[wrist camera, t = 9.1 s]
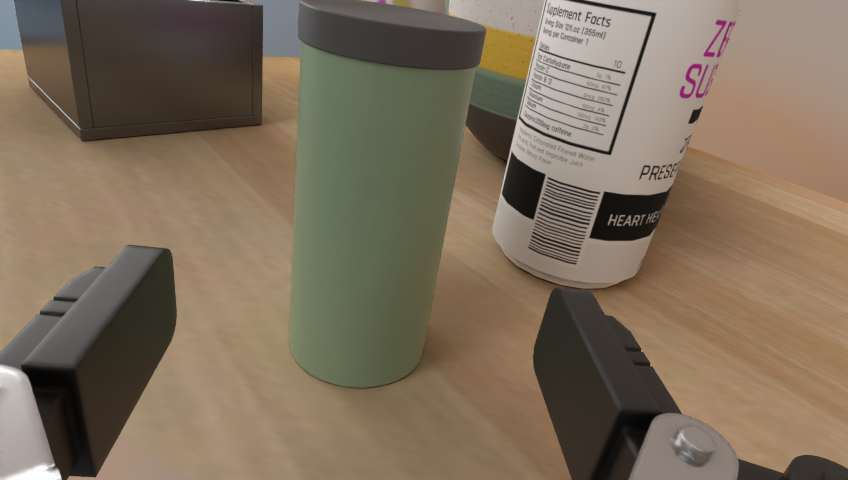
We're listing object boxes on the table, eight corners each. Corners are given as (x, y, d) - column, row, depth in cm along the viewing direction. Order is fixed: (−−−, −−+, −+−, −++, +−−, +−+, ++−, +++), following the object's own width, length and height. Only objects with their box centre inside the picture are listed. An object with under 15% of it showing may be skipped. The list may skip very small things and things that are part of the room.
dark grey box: (262, 124, 43) (263, 5, 39) (81, 141, 34) (59, -9, 30) (189, 81, 51) (184, -21, 47) (29, 86, 43) (6, -38, 39)
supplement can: (486, 212, 34) (546, -56, 27) (615, 234, 34) (708, -30, 27) (491, 280, 27) (574, -64, 20) (655, 307, 27) (795, -27, 20)
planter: (718, 210, 41) (865, -126, 31) (492, 218, 33) (592, -221, 23) (570, 129, 56) (637, -111, 47) (393, 122, 49) (429, -166, 39)
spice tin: (273, 384, 18) (283, 6, 13) (297, 295, 23) (311, -9, 18) (430, 395, 19) (502, 40, 14) (421, 306, 24) (472, 17, 18)
